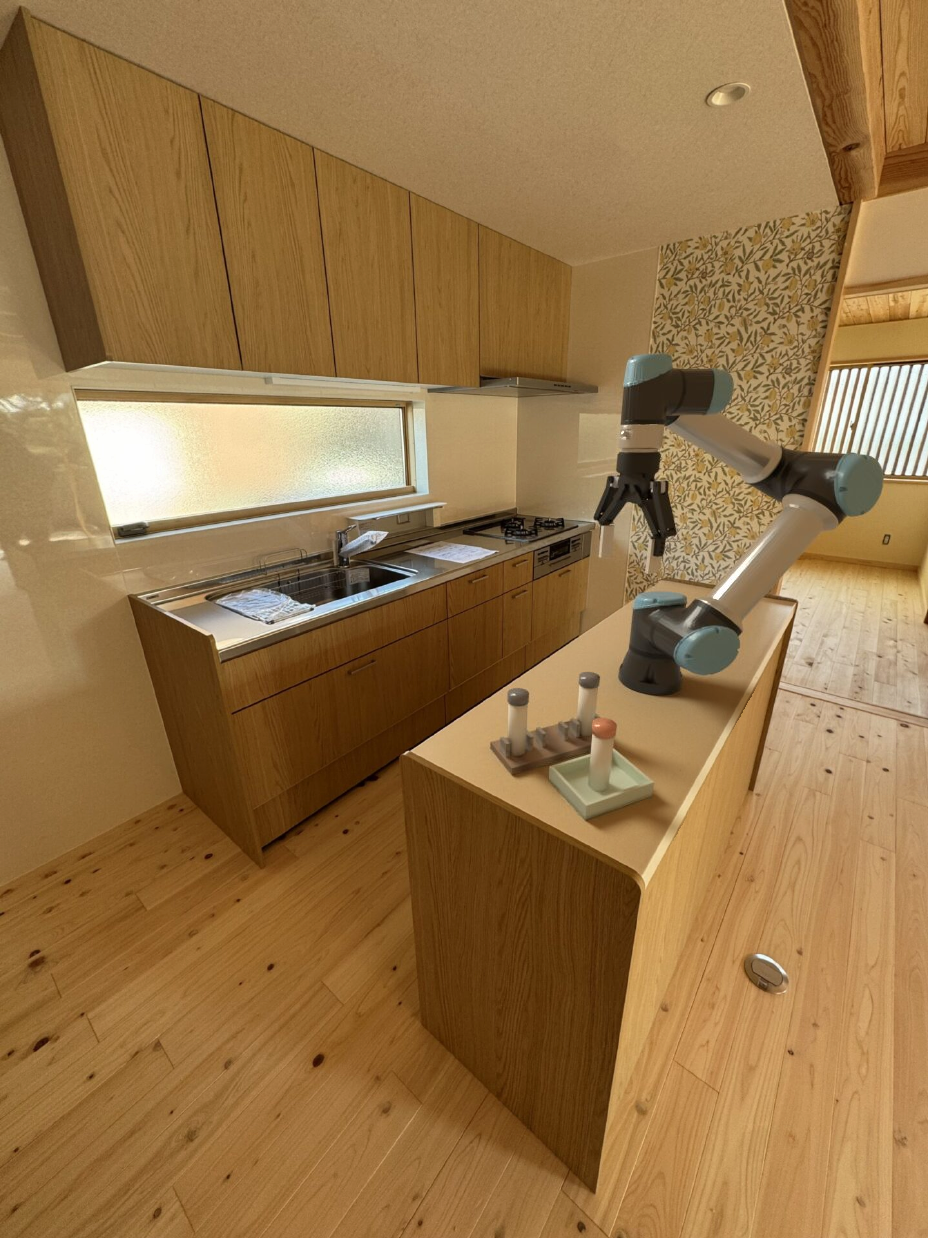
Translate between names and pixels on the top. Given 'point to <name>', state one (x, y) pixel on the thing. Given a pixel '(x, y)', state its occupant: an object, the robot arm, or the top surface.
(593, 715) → the fuse
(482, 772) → the top surface
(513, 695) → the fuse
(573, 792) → the tray
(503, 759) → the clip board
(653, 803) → the top surface
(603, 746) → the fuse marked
